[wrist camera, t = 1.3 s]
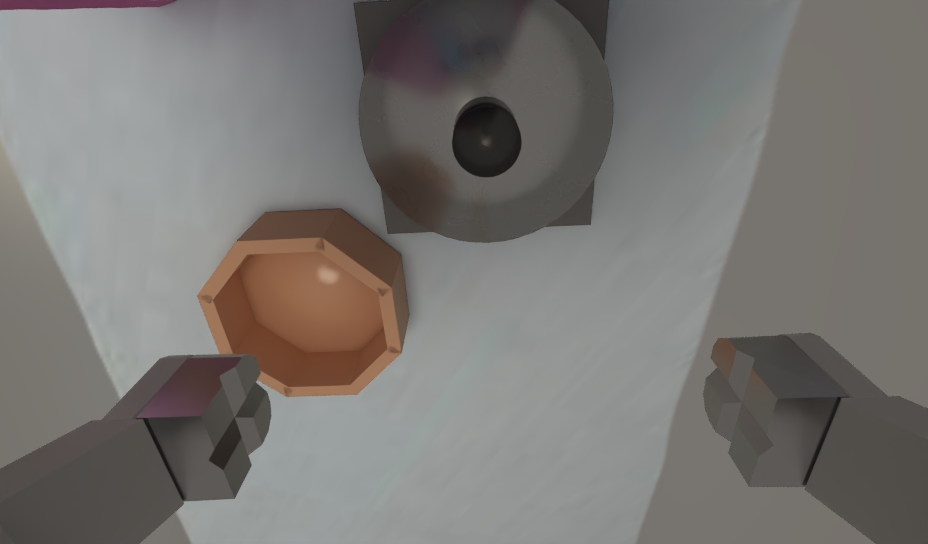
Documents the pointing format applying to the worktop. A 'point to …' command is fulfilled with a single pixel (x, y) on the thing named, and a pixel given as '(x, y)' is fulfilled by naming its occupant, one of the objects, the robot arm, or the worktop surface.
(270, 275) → the bowl
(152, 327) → the worktop surface
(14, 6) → the gum box
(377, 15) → the mat
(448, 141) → the lid
